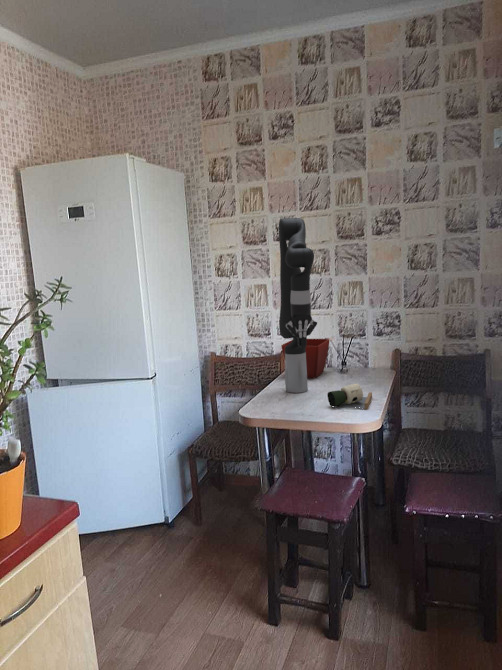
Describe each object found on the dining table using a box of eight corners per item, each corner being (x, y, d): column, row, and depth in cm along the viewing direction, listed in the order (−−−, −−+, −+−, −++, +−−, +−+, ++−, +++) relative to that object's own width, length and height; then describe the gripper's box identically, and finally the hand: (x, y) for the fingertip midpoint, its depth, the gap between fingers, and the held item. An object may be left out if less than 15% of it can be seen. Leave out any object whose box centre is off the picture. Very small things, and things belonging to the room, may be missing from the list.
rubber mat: (335, 408, 209) (335, 402, 208) (342, 397, 224) (342, 391, 223) (367, 409, 205) (367, 403, 204) (372, 398, 220) (371, 392, 219)
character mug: (338, 404, 204) (367, 395, 208) (331, 387, 206) (360, 379, 210) (328, 412, 213) (356, 404, 217) (321, 396, 216) (349, 388, 220)
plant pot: (319, 380, 256) (317, 345, 253) (282, 378, 264) (280, 345, 262) (331, 371, 273) (330, 338, 270) (296, 370, 281) (294, 338, 279)
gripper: (288, 304, 197) (289, 350, 200) (321, 301, 201) (321, 346, 204) (280, 302, 204) (282, 346, 207) (312, 299, 208) (313, 342, 211)
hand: (301, 346), depth 206 cm, fingers closed
